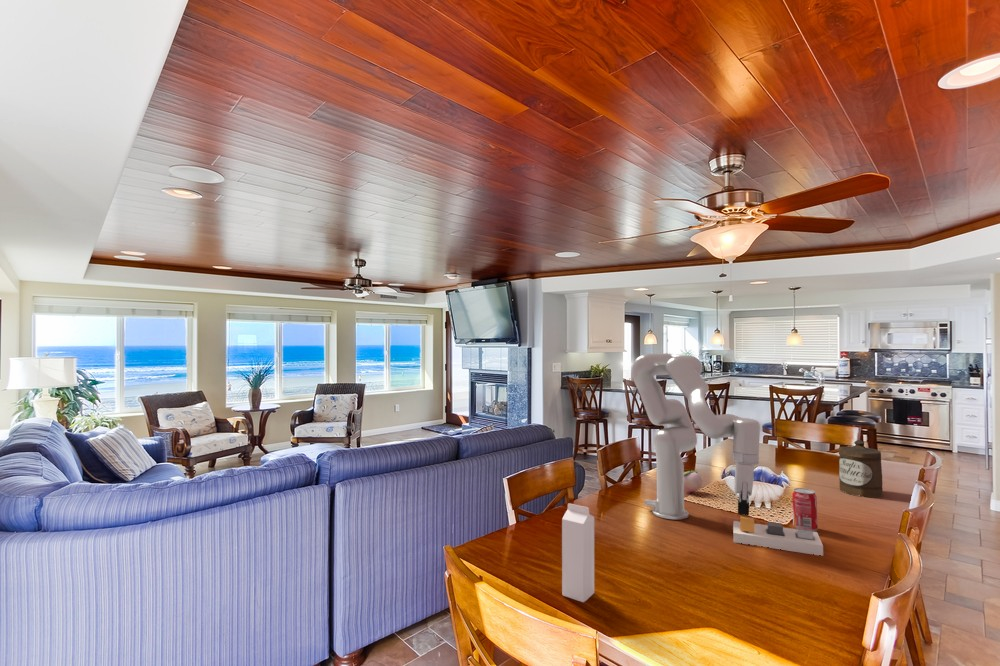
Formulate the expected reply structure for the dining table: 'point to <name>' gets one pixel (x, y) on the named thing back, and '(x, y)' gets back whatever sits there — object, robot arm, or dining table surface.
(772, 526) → the button black
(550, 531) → the dining table surface
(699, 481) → the decorative fruit
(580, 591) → the milk
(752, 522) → the thick orange block
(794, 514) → the soda can
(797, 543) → the panel
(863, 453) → the wooden container
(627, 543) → the dining table surface
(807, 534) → the button grey
